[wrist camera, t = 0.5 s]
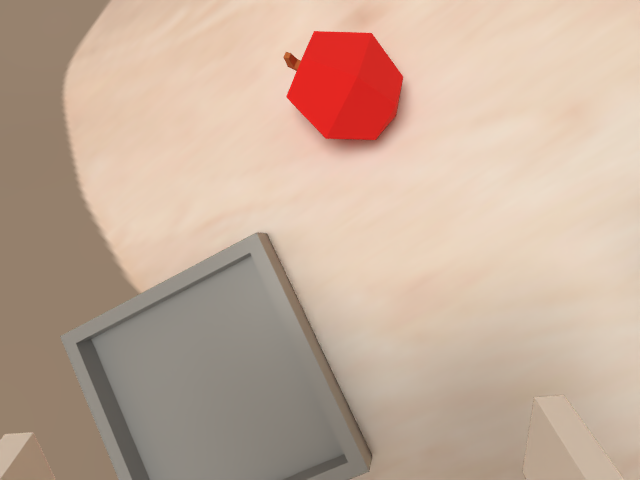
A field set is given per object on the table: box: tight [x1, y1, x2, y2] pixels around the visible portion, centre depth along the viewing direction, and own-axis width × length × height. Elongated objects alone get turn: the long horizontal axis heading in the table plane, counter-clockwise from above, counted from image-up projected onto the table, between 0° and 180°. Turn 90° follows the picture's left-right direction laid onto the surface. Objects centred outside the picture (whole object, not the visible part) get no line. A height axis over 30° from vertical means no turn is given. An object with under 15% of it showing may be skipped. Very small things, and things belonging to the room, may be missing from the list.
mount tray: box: [60, 233, 372, 480], centre depth 32 cm, size 17×17×2 cm
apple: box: [284, 31, 403, 140], centre depth 28 cm, size 7×7×8 cm
